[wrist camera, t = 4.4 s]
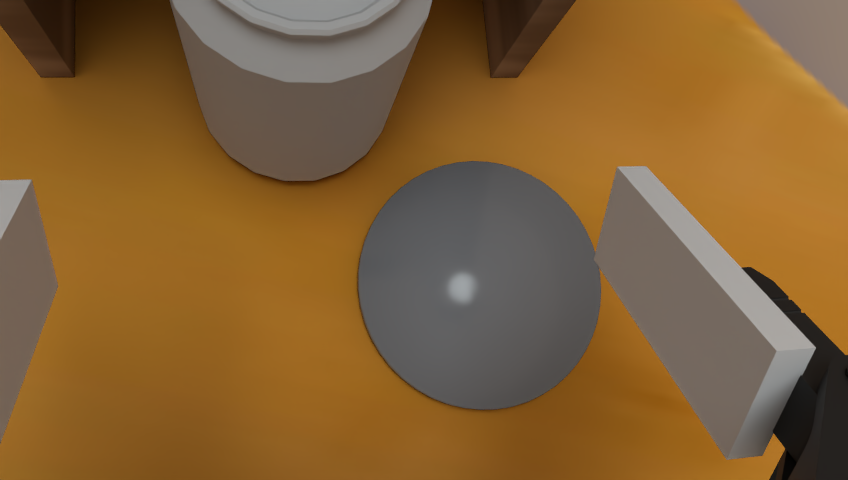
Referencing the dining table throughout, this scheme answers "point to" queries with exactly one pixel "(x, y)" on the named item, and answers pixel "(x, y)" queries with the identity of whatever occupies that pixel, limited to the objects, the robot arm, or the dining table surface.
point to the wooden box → (55, 32)
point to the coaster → (479, 285)
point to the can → (298, 77)
